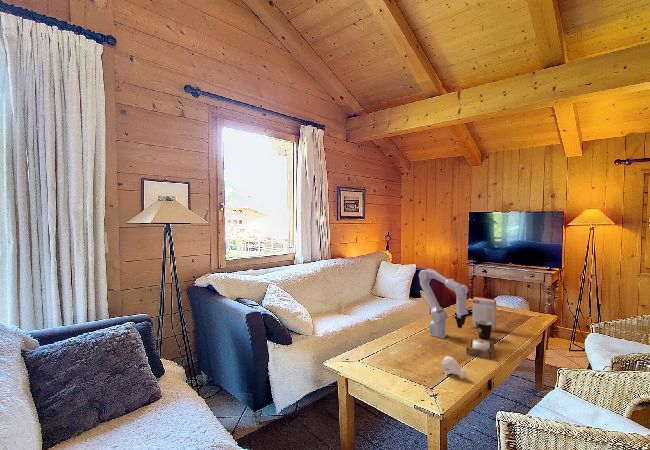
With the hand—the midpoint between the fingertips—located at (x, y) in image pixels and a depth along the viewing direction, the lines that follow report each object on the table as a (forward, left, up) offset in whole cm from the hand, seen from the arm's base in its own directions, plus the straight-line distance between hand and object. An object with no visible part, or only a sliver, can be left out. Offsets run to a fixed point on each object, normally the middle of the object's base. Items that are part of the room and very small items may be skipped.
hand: (461, 326), depth 208 cm
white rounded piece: (+6, -47, -10) cm, 48 cm away
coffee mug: (+11, +16, -10) cm, 22 cm away
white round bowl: (+13, -10, -10) cm, 19 cm away
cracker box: (+9, +33, -10) cm, 36 cm away
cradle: (+12, -10, -10) cm, 18 cm away
